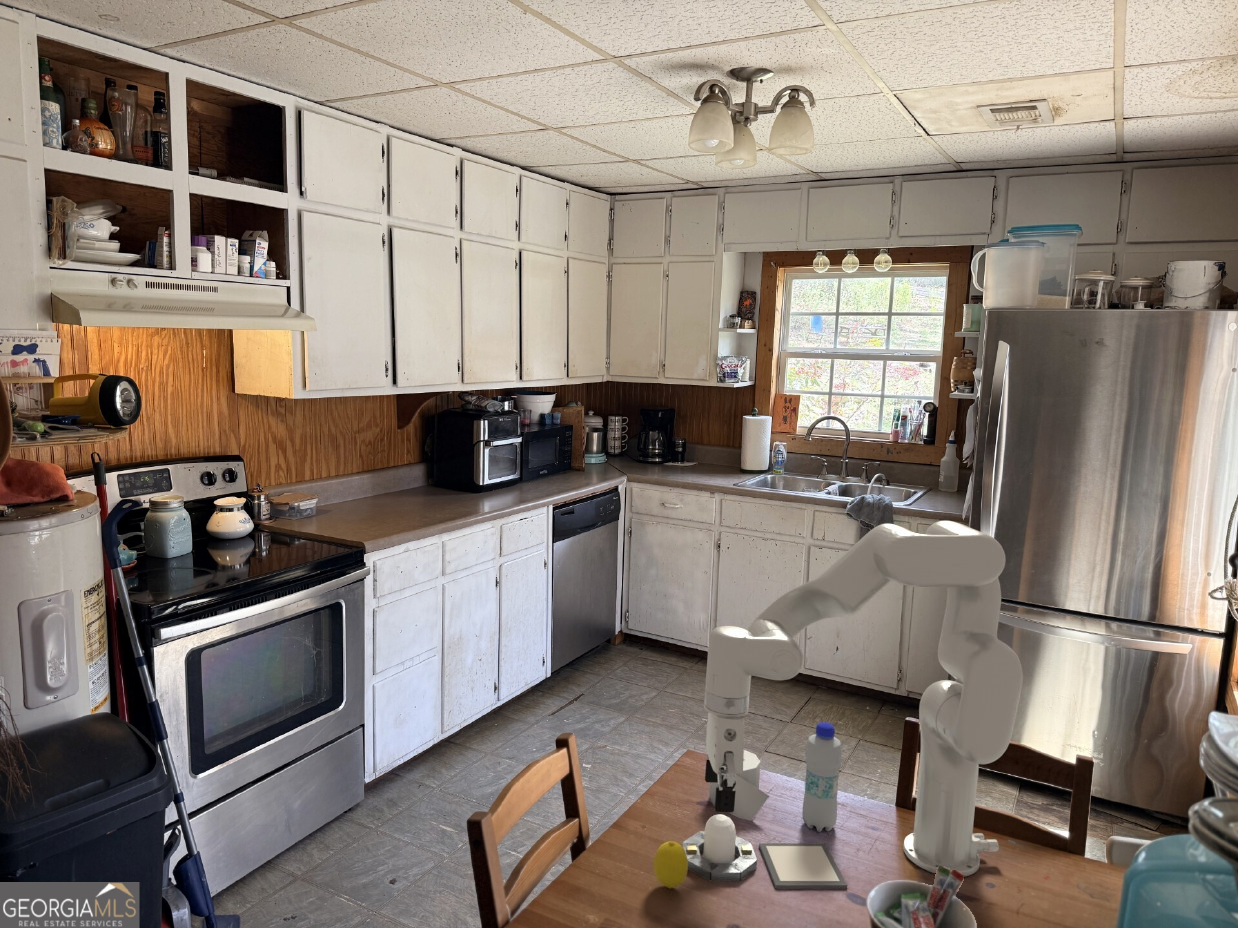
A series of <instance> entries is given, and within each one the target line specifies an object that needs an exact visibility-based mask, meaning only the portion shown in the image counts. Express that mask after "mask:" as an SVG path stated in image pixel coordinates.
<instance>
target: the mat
mask: <svg viewBox="0 0 1238 928" xmlns="http://www.w3.org/2000/svg"><path fill="white" fill-rule="evenodd" d="M758 848H759V849H760V853H761V855H762V858H763V860H764V863H765V865H766V868H767V870H768V872H769V875H770V878H771V881H772V882H773V883H772V884H773V886H774V888H775V889H776V890H778V889H780V890H781V889H783V890H785V889H786V890H788V889H789V890H790V889H794V890H796V889H797V890H800V889H801V890H802V889H803V890H804V889H805V890H809V889H812V890H814V889H817V890H819V889H821V890H822V889H823V890H824V889H826V890H828V889H829V890H830V889H833V890H835V889H840V890H842V889H845V890H846V889H848V884H847V882H846V880H845V878H844V876H843V874H842V872H841V871H840V868H839V867H838V865H837V863H836V861H835V859H834V857H833V856H832V853H831V851H830V850H829V848H828V846H827V844H826V843H806V842H805V843H804V842H803V843H799V842H798V843H794V842H793V843H792V842H791V843H790V842H789V843H788V842H787V843H785V842H784V843H781V842H779V843H778V842H777V843H774V842H773V843H771V842H770V843H767V842H766V843H763V842H759V843H758Z"/></svg>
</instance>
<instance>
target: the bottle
mask: <svg viewBox="0 0 1238 928" xmlns="http://www.w3.org/2000/svg"><path fill="white" fill-rule="evenodd" d="M835 732H836V730H835V727H834V725H833V724H831V723H829V722H825V721H824V722H823V721H822V722H819V723H818V724H817V725H816V727H815V733H814V734H812V735H810V736H808V739H807V744H806V749H805V753H804V755H805V759H804V762H805V763H806V769H805V770H806V771H805V784H804V794H803V795H804V796H803V803H802V811H801V813H802V816H801V817H802V820H803V822H804V824H806V827H808V829H813V828H814V827H816V830H817V832H820V833H821V832H822V831H823V829H825V831H826V832H829V831H831V830H832V829H833V827H834V826H836V822H837V817H838V790H839V774H840V770H841V768H842V762H843V756H842V743H841V740H840V739H838V738H837V737H835Z"/></svg>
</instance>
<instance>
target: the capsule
mask: <svg viewBox="0 0 1238 928" xmlns="http://www.w3.org/2000/svg"><path fill="white" fill-rule="evenodd" d="M704 831H705V835H704V851H703V855H702V857H703V858H705V859H707V860H709V861H711V862H713V863H732V862H734V861H735V855H736V854H735V839H736V836H737V831H736V826H735V824H734V822H733V819H731V817H729V816H726V815H725V814H721V813H720V814H714V815H713V816H710V817H709V819H708V820H707V821H706V823H705V827H704Z"/></svg>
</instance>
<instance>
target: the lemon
mask: <svg viewBox="0 0 1238 928" xmlns="http://www.w3.org/2000/svg"><path fill="white" fill-rule="evenodd" d="M653 871H654V875H655V877H656V879H657V881H658V882H659V883H660V884H661V885H662V886H664V887H666V888H668V889H673V888H675V887H678V886H680V885H681V884H683V882H684V881H685V879H686V878H687V875H688V871H689V870H688V860H687V855H686V852H685V850H684V848H683V847H682V844H680V843H678V842H676V841H673V840H670V841H666V842H664V843H662V844H661V845H660V846H659V847H658V849H657V850H656V851H655V855H654V859H653Z"/></svg>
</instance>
